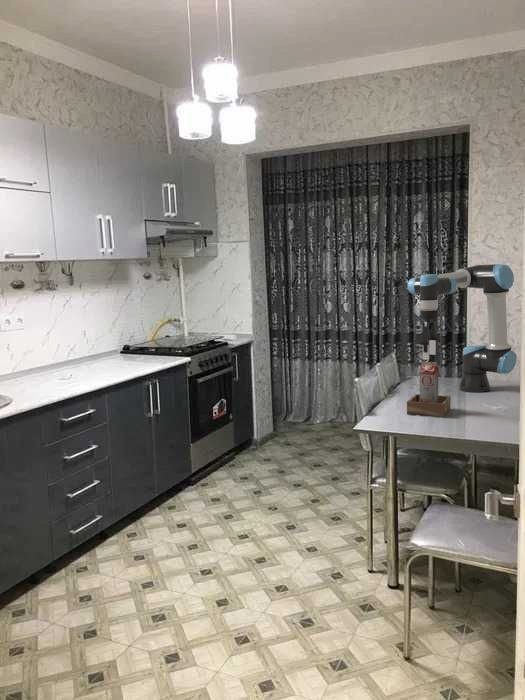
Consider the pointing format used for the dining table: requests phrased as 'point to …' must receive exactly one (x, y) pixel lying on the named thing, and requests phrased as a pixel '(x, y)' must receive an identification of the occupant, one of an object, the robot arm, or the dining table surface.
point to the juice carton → (429, 382)
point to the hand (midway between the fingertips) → (429, 357)
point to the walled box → (429, 406)
